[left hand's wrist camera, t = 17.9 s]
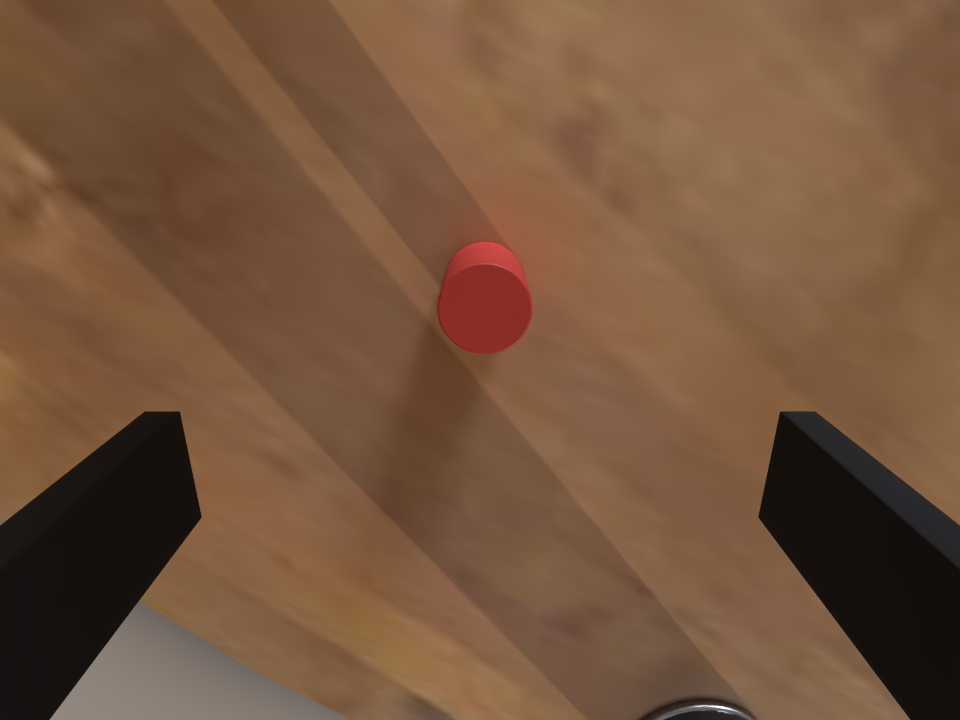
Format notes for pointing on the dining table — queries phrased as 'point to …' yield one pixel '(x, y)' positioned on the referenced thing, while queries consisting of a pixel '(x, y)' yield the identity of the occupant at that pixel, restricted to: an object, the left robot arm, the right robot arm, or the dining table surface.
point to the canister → (484, 299)
